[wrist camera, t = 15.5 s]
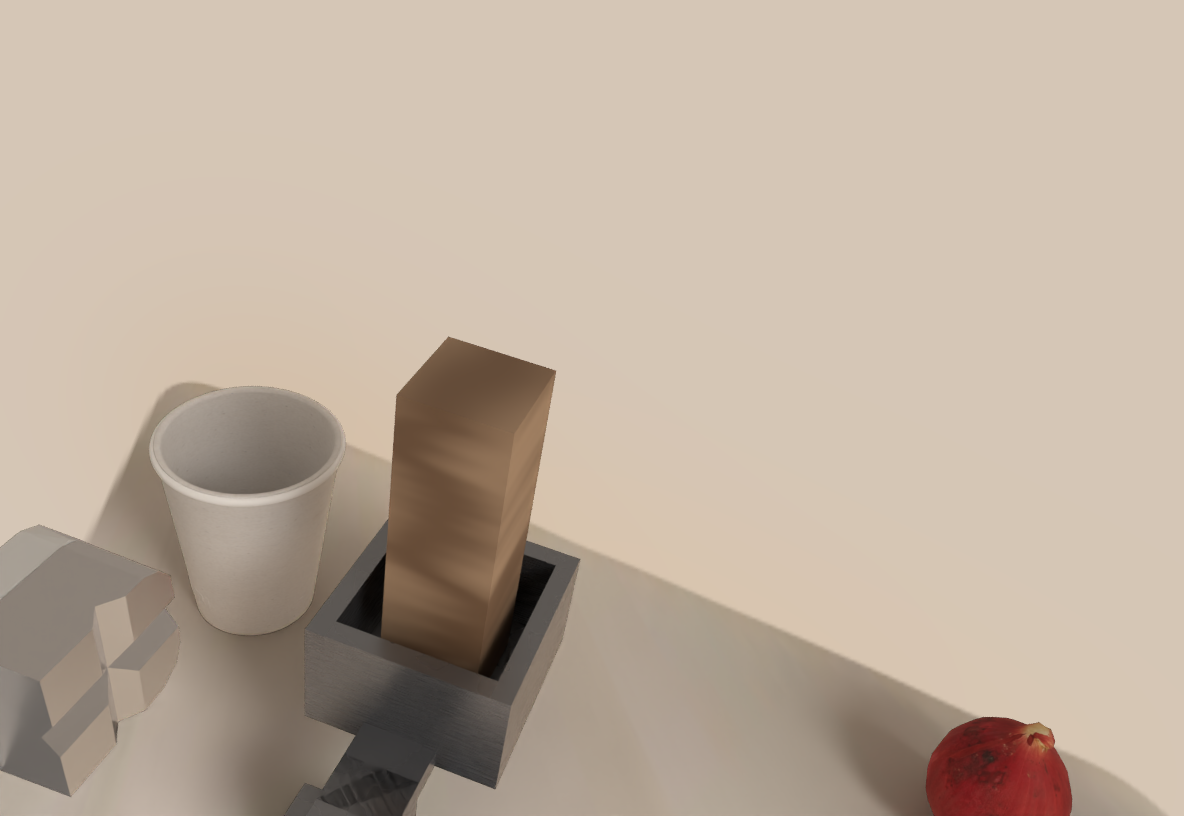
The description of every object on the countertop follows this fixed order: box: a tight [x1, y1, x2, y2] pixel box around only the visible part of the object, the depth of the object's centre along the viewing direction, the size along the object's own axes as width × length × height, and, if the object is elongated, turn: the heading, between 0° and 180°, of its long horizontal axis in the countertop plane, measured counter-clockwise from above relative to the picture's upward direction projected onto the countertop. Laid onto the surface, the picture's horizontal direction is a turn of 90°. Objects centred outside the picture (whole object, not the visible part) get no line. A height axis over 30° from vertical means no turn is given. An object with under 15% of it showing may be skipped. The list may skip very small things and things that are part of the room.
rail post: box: [381, 337, 556, 678], centre depth 37 cm, size 4×4×14 cm
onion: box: [926, 717, 1072, 816], centre depth 43 cm, size 6×6×8 cm
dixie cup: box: [149, 386, 346, 635], centre depth 47 cm, size 8×8×10 cm
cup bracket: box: [284, 518, 580, 816], centre depth 39 cm, size 8×14×10 cm, turn 162°
